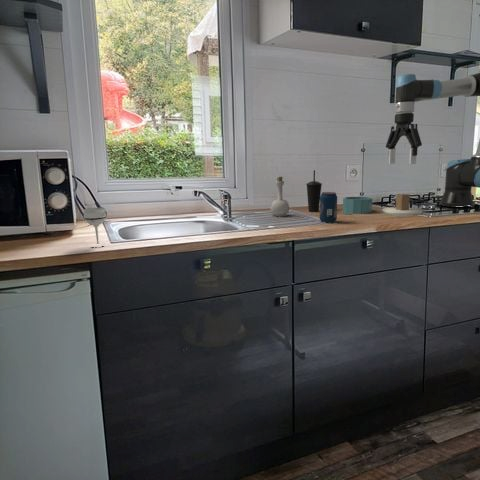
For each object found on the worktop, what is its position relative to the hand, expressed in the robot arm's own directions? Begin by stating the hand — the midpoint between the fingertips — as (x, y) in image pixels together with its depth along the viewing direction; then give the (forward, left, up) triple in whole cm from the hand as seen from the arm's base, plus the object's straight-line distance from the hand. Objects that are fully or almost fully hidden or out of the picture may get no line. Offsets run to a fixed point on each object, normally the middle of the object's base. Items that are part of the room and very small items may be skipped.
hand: (401, 163), depth 170 cm
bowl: (+14, -11, -23) cm, 29 cm away
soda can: (+38, +6, -23) cm, 45 cm away
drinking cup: (+30, -24, -23) cm, 45 cm away
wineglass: (+127, +20, -23) cm, 131 cm away
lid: (-3, -1, -22) cm, 22 cm away
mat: (-3, -1, -23) cm, 23 cm away
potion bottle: (+50, -18, -23) cm, 58 cm away
